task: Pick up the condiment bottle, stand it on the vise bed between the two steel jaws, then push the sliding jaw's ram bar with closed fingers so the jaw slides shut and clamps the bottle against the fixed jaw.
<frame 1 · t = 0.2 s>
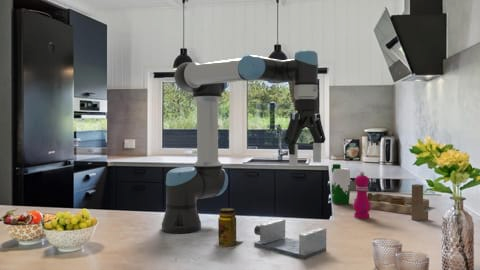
hand: (305, 163, 137), 27 cm above the worktop, tool pointing down, fingers open, 13 cm apart
vise bed: (289, 248, 136), on the worktop
milk carton: (340, 203, 215), on the worktop
wooden block: (419, 220, 178), on the worktop
trivet frame: (391, 206, 207), on the worktop
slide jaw: (266, 229, 143), point 5 cm above the worktop, slide at 0.0 cm
condiment: (228, 244, 141), on the worktop
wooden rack: (391, 207, 207), on the worktop
pepper mill: (361, 217, 182), on the worktop
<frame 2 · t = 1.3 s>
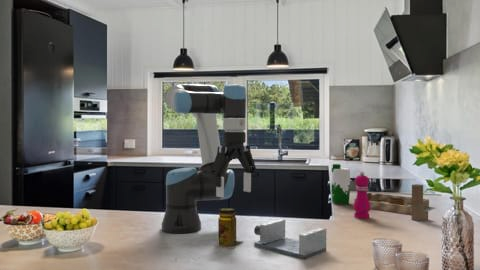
hand: (234, 194, 141), 17 cm above the worktop, tool pointing down, fingers open, 13 cm apart
nothing on the worktop moved.
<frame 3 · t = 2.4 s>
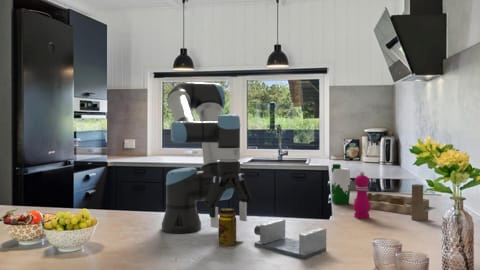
hand: (229, 223, 140), 7 cm above the worktop, tool pointing down, fingers open, 13 cm apart
nothing on the worktop moved.
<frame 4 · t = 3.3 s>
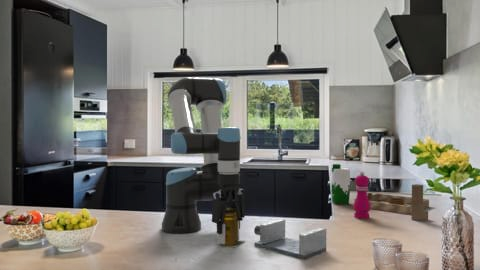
hand: (228, 241, 141), 1 cm above the worktop, tool pointing down, fingers closed on condiment, 6 cm apart
condiment: (230, 244, 142), on the worktop, touching gripper
everything else where it was.
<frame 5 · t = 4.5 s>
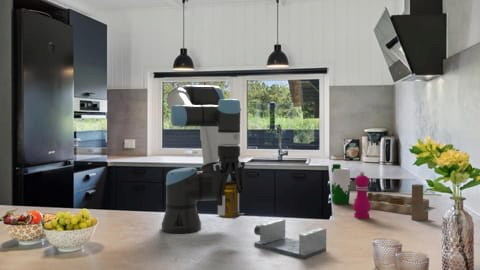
hand: (228, 213, 141), 10 cm above the worktop, tool pointing down, fingers closed on condiment, 6 cm apart
condiment: (230, 216, 142), point 9 cm above the worktop, touching gripper
everything else where it was.
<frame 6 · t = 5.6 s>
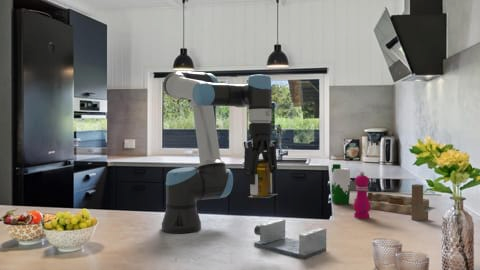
hand: (261, 193, 136), 18 cm above the worktop, tool pointing down, fingers closed on condiment, 6 cm apart
condiment: (263, 196, 137), point 17 cm above the worktop, touching gripper
everything else where it was.
when the fingers open (4 cm above the worktop, at t = 8.7 s): condiment drops 1 cm, resting on vise bed.
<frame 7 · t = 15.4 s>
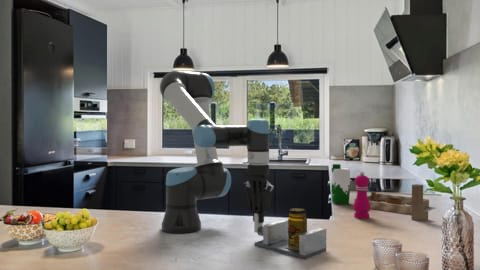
hand: (258, 231, 145), 3 cm above the worktop, tool pointing down, fingers closed
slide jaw: (269, 230, 142), point 5 cm above the worktop, slide at 1.4 cm, touching gripper
condiment: (298, 246, 135), point 1 cm above the worktop, touching vise bed
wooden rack: (391, 207, 208), on the worktop
everything else where it was.
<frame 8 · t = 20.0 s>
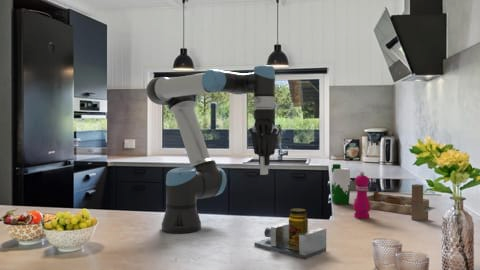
hand: (264, 174, 151), 22 cm above the worktop, tool pointing down, fingers closed
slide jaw: (276, 231, 140), point 5 cm above the worktop, slide at 4.6 cm
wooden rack: (391, 206, 210), on the worktop
everything else where it was.
at the end: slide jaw slide at 4.6 cm; condiment inside the target area on the vise bed (0.9 cm from its centre), point 1.0 cm above the vise bed's base; condiment tilted 0° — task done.
